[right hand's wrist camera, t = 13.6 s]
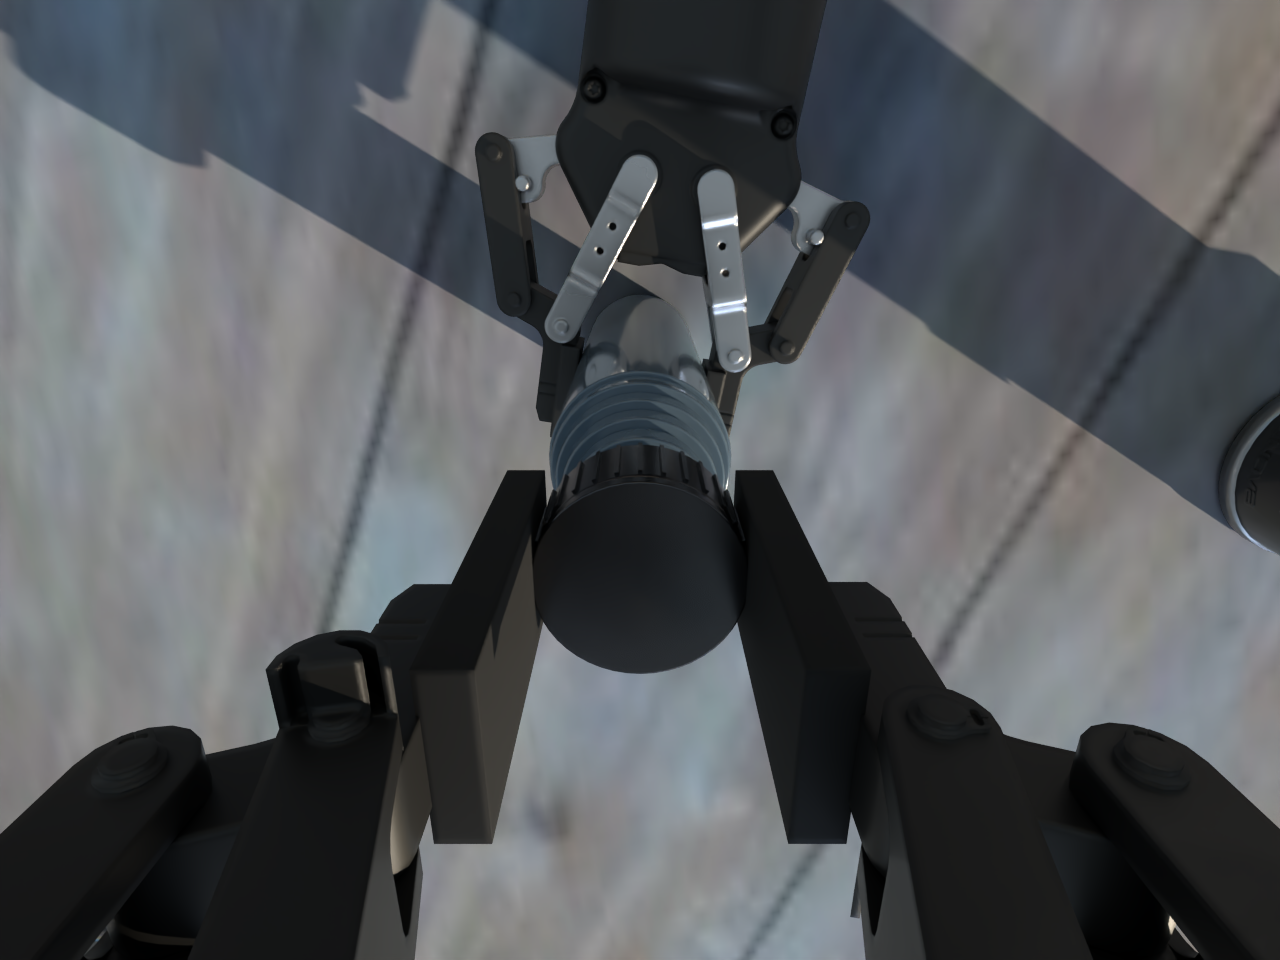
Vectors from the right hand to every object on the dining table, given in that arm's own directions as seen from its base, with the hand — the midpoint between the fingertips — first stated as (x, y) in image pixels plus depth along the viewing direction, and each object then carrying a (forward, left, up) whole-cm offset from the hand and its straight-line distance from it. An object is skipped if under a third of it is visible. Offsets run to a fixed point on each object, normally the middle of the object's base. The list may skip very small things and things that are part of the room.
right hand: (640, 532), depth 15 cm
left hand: (-1, -3, -14) cm, 14 cm away
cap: (0, 0, +2) cm, 2 cm away
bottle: (0, 0, -20) cm, 20 cm away
